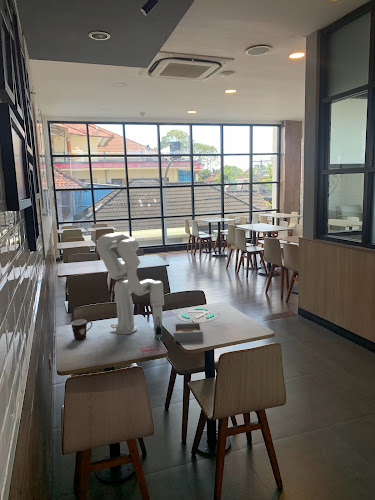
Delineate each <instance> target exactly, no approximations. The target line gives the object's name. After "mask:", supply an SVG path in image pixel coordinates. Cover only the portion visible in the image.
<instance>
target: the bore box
mask: <svg viewBox="0 0 375 500" xmlns="http://www.w3.org/2000/svg"><path fill="white" fill-rule="evenodd" d="M203 336H204V334H203V327H202V323H201V322H200V323H193V322H185V323H184V322H183V323H180V322H179V323H173V341H174V342H191V341H192V342H193V341H203V339H204V337H203Z"/></svg>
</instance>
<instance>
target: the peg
mask: <svg viewBox="0 0 375 500" xmlns="http://www.w3.org/2000/svg"><path fill="white" fill-rule="evenodd" d="M159 325H160V324H159ZM153 327H154V328H153V329H154V338H155V339H162V338H163V333H162V334H161V335H156V323H155V324H154V323H153ZM161 330H162V331H163V322H162V323H161Z"/></svg>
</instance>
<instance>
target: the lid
mask: <svg viewBox="0 0 375 500" xmlns="http://www.w3.org/2000/svg"><path fill="white" fill-rule="evenodd" d="M205 308H206V307H190V308H186V309H187V310H186V311H188V313H202V314H200V315H198V314H197V315H198V316H197V315H195V317H194V316H193V317H194V318H195V319H197V320H198V321H194V320H193V321H194V323H196V322H197V323H198V322H200V323H201V324H202V322H203V323H208V322H207V321H206V320H205V318H204V319H203V320H204V321H203V320H202V318H201V317H204V315H207V314H208V313H210V311H208V309H205ZM191 310H193V311H191ZM194 310H205V311H194ZM180 311H181V312H180ZM180 311H178V313H180V314H178V315H177V314H176V318H177V319H178V320H180V321H182V322H185V321H186V322H185V323H193V322H192V321H190V322H189V320H188V322H187V319H190V317H189V316H186V314H185V313H183V311H184V312H185V309H182V310H180ZM214 315H215V314H213V313H210V315H209V316H208V317H206V319H207V320H208V319H209V318H212V317H214ZM185 318H186V320H185ZM200 318H201V319H200ZM200 320H201V321H200ZM212 321H213V320H211V321H210V322H212Z"/></svg>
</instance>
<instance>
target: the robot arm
mask: <svg viewBox="0 0 375 500" xmlns="http://www.w3.org/2000/svg"><path fill="white" fill-rule="evenodd" d="M113 248H116V250H117V252H118V254H119V256H120V257H121V259H122V261H120V260H119V258H118V255H117V254H116V253H115V252H114V250H112V249H113ZM139 249H140V244H139V242H138V240H137V239H136V238H134V237H132V236H129V235H127V234H125V233H121V232H113V233H108V234H104V235H101V236H99V238H98V239H97V241H96V251H97V254H99V257H100V258H101V259H102V261H103V264H104V266H105V268H106V270H107V272H108V275H109V276H110V278H111V279H113V280H118V281H117V282H116V283H115V284H114V286H113V291H114V295H115V300H116V301H115V302H116V315H117V323H114V324H113V323H110V328H112V329H115V332H116V333H117V334H119V335H130V334H133V333H135V332H137V330H138V327H137V326H136V325H135V317H134V302H133V298H132V296H131V294H132V293H133V294H135V295H136V296H140V297H141V296H143V295H145V294H147V293H149V295H150V296H149V298H150V300H149V301H150V307H152V319H153V320H152V322H153V325H154V324H155V323H156V335H161V334H162V335H163V329H162V330H161V323H162V324H163V306H164V305H165V298H164V285H163V283H164V282H163V281H161V280H154V279H150V278H145V279H142V280H139V277H138V275H137V270H138V267H139V266H140V264H141V260H140V259H139V256H138V254H137V253H136V252H137V251H138V250H139ZM122 278H123V279H122ZM119 279H121V280H119ZM159 324H160V325H159Z"/></svg>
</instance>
